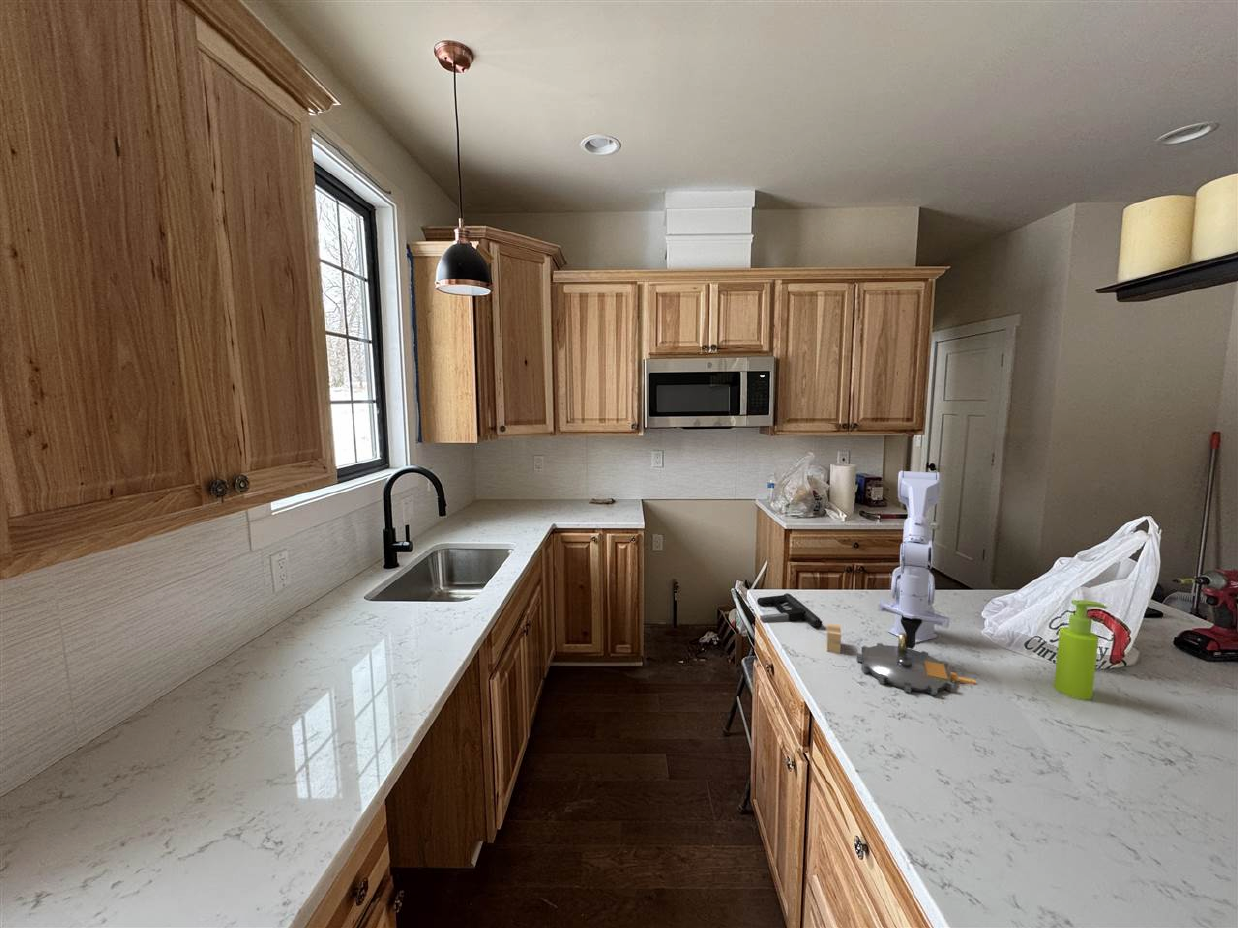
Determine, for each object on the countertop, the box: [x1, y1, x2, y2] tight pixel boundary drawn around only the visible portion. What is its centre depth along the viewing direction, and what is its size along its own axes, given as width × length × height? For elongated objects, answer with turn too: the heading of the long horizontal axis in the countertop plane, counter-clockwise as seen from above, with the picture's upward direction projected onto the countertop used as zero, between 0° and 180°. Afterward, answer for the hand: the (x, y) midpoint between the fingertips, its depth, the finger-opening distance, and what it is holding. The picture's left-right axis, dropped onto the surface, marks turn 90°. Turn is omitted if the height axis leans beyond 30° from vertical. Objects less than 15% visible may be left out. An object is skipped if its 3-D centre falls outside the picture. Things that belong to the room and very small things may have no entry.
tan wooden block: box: [826, 622, 842, 655], centre depth 123 cm, size 6×3×5 cm, turn 158°
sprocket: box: [856, 633, 958, 696], centre depth 111 cm, size 20×20×6 cm
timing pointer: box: [957, 676, 976, 685], centre depth 107 cm, size 3×1×1 cm, turn 68°
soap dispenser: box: [1053, 599, 1108, 701], centre depth 102 cm, size 6×7×20 cm
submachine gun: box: [756, 593, 823, 629], centre depth 143 cm, size 3×20×16 cm
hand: (910, 646), depth 116 cm, fingers closed, pressing on sprocket
